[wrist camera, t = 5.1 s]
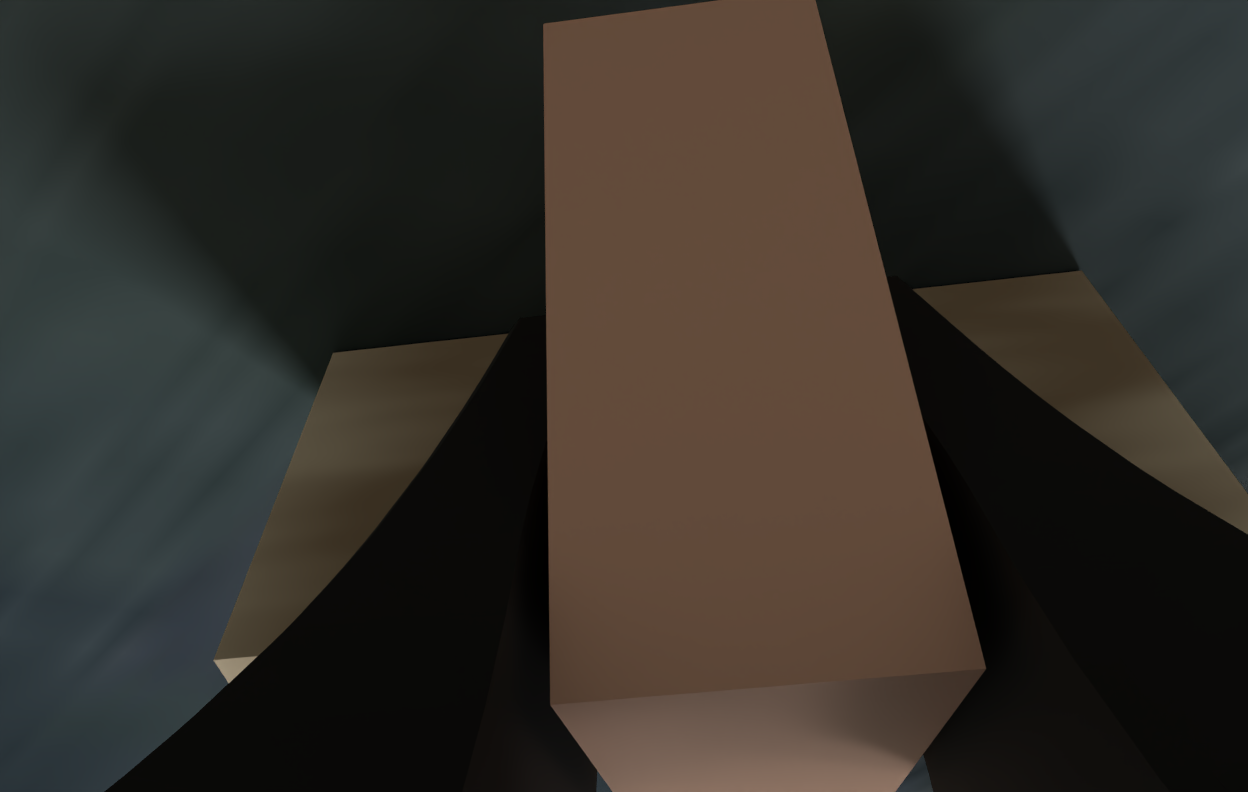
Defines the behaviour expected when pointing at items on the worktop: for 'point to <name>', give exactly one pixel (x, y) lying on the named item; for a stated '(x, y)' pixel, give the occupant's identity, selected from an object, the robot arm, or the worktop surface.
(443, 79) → the worktop surface
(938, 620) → the tan flat notched board
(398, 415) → the tan notched block
